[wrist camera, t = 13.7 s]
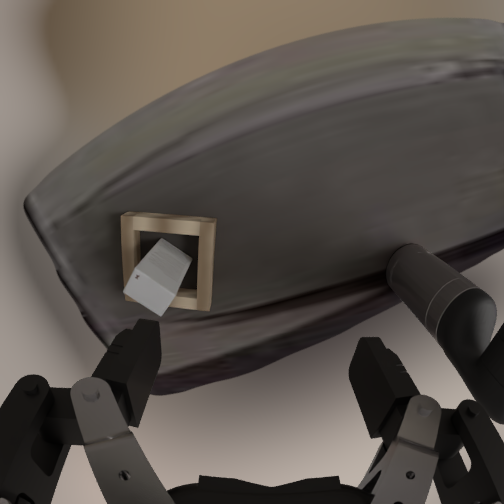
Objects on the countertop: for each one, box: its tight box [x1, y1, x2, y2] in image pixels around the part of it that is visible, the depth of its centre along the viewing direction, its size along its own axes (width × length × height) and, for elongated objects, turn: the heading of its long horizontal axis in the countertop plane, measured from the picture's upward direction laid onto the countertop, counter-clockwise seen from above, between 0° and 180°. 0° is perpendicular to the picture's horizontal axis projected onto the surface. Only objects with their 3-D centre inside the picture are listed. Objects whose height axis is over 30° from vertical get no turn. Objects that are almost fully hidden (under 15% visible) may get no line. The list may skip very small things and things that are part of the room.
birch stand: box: [121, 211, 217, 311], centre depth 44 cm, size 14×14×3 cm
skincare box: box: [123, 238, 192, 316], centre depth 39 cm, size 6×4×12 cm
